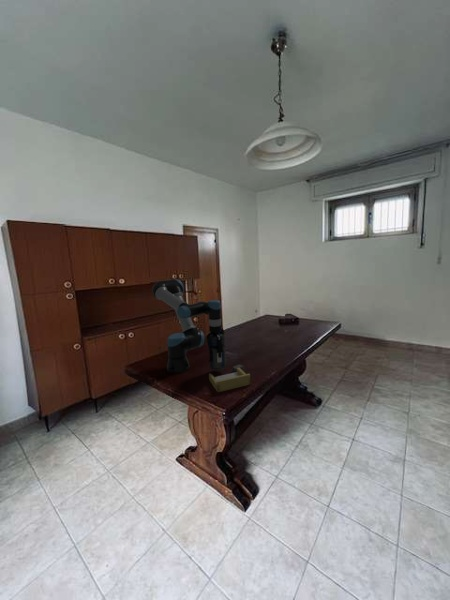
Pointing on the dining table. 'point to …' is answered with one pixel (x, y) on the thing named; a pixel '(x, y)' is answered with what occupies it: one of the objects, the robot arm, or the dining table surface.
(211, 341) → the beverage bottle
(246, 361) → the dining table surface
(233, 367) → the gray rectangular block
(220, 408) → the dining table surface
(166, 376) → the dining table surface
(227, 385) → the dock bay
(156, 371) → the dining table surface
